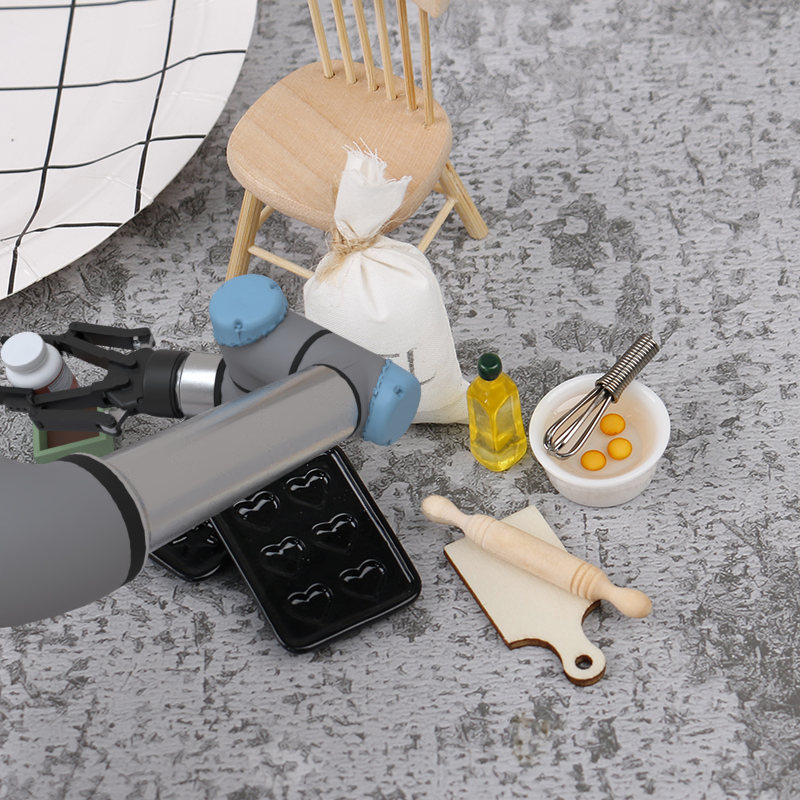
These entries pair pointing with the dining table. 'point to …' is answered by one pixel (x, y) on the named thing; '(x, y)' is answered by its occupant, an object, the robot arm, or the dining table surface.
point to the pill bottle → (36, 365)
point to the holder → (70, 443)
